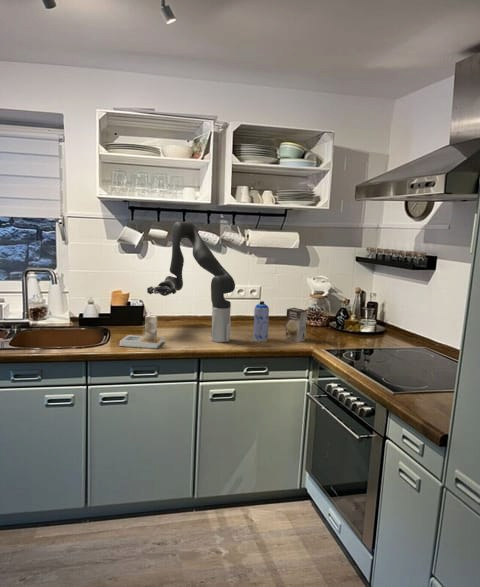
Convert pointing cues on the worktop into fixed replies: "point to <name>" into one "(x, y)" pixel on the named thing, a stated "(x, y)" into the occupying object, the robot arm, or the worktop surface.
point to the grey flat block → (140, 342)
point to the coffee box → (296, 324)
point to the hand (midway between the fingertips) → (158, 292)
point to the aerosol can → (261, 322)
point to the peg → (151, 327)
